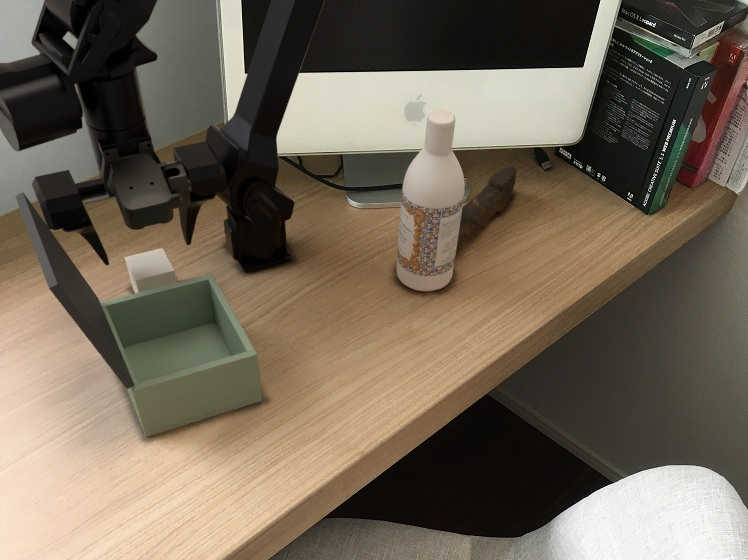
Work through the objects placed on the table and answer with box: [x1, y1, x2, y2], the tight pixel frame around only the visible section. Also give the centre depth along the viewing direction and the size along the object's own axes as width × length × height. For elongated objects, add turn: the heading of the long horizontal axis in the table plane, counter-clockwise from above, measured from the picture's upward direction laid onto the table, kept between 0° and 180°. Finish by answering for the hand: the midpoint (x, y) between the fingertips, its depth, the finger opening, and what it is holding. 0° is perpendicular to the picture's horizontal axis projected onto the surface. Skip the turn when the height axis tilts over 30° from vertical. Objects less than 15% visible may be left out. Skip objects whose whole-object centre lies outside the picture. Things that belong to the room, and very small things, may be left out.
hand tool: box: [456, 165, 517, 254], centre depth 101 cm, size 19×4×5 cm, turn 143°
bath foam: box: [395, 108, 465, 292], centre depth 89 cm, size 7×7×20 cm
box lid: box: [14, 191, 134, 390], centre depth 72 cm, size 13×14×1 cm
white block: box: [124, 247, 178, 293], centre depth 91 cm, size 4×4×4 cm
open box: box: [100, 273, 263, 438], centre depth 82 cm, size 13×14×7 cm
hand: (147, 253), depth 88 cm, fingers open, 9 cm apart
